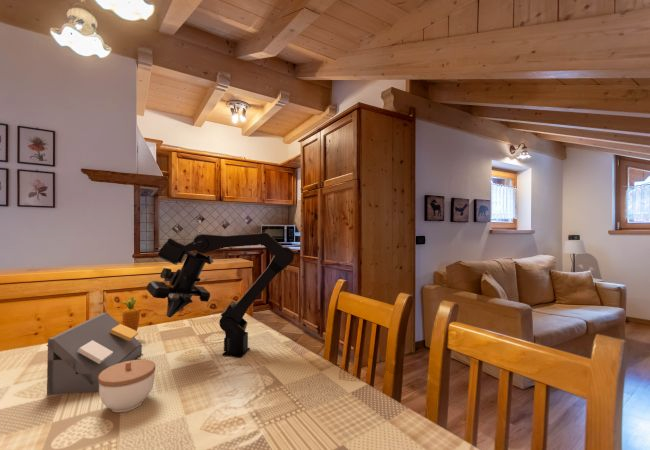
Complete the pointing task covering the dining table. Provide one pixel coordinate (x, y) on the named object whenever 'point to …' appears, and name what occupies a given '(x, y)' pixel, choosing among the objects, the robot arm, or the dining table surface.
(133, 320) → the carrot
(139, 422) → the dining table surface
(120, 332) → the block
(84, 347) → the block
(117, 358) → the switch console
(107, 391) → the lidded jar
